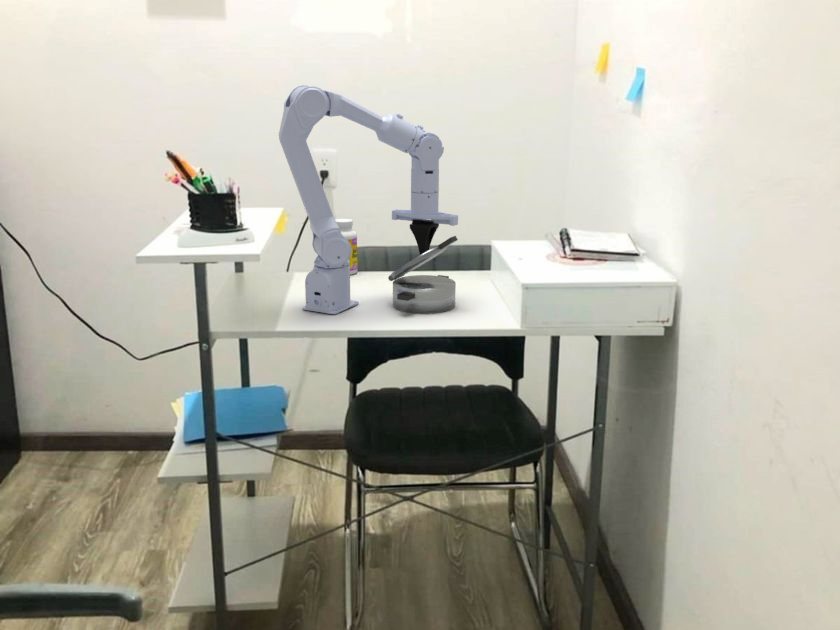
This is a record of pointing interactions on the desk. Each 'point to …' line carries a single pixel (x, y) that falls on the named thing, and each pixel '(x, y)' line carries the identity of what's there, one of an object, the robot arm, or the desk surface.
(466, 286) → the desk surface
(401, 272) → the lid
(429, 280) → the pot
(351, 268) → the supplement bottle
